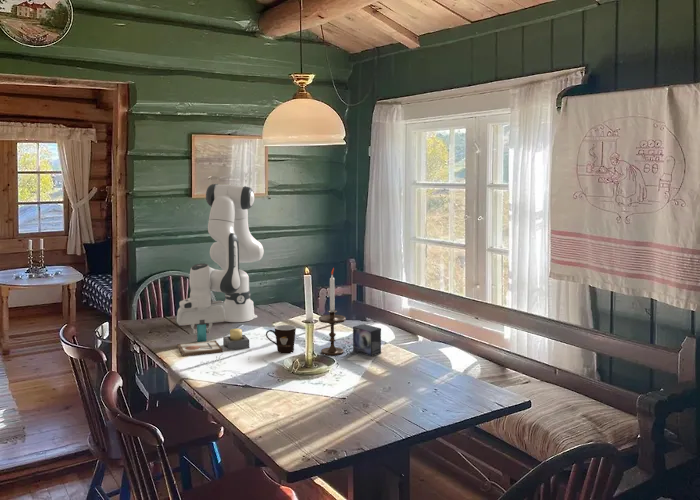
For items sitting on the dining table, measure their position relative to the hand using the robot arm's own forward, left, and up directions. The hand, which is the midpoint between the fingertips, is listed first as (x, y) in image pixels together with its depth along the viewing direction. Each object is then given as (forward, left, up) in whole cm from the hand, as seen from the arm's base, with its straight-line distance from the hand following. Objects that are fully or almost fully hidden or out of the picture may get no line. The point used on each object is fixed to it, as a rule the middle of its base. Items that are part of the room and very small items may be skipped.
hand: (201, 333), depth 290 cm
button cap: (+13, +12, -1) cm, 18 cm away
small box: (+42, +59, -4) cm, 73 cm away
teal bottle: (0, 0, -4) cm, 4 cm away
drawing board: (+12, -3, -4) cm, 13 cm away
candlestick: (+37, +46, -4) cm, 59 cm away
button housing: (+13, +12, -4) cm, 18 cm away
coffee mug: (+27, +28, -4) cm, 39 cm away
